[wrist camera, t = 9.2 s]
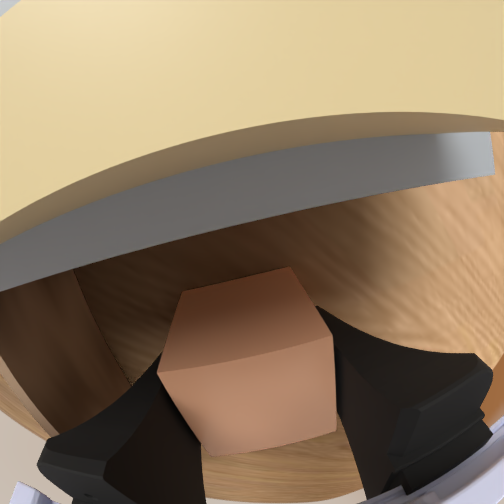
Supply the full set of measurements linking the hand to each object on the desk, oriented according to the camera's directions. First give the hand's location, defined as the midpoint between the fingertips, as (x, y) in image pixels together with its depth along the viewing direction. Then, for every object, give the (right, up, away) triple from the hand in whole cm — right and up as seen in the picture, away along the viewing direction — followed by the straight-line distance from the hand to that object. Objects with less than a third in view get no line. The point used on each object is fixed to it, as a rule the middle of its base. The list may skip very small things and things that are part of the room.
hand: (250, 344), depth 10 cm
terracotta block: (0, 0, +1) cm, 1 cm away
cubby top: (-3, +10, -8) cm, 13 cm away
